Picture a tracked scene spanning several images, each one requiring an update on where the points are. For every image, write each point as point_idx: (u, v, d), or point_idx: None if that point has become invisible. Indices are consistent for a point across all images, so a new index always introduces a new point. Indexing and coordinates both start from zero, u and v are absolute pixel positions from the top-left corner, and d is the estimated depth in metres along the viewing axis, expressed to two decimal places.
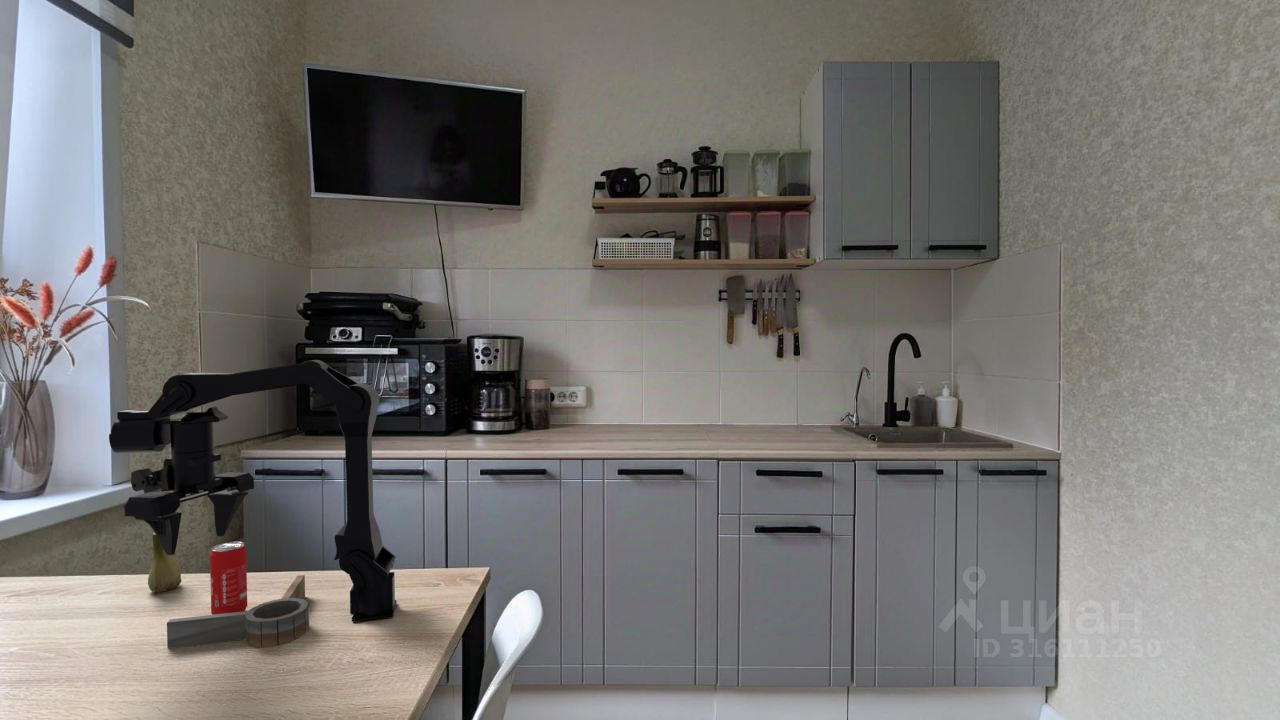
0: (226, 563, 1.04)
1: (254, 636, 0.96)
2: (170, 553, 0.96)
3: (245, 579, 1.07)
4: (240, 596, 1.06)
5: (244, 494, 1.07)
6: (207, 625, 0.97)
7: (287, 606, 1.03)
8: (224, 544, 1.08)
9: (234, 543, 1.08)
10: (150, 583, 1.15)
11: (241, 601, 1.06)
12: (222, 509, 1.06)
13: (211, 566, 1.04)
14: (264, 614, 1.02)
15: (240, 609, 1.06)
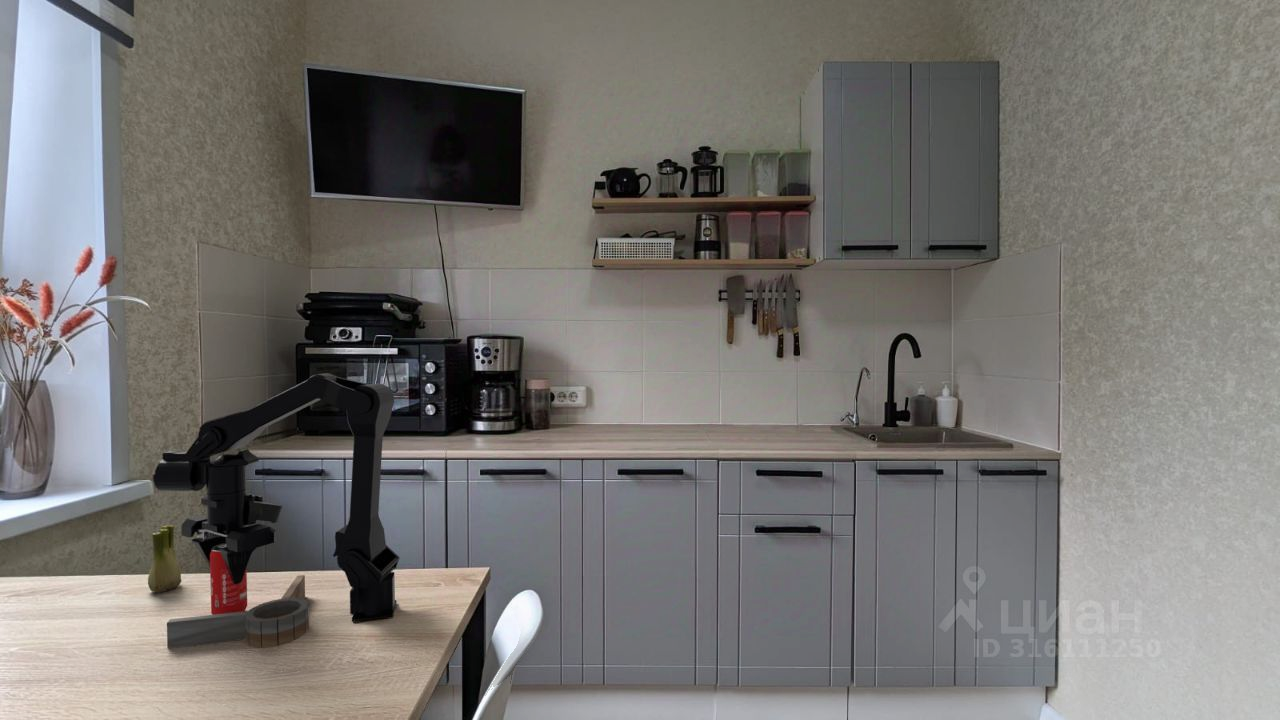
0: None
1: (254, 636, 0.96)
2: None
3: (245, 579, 1.07)
4: (240, 596, 1.06)
5: (225, 551, 1.02)
6: (207, 625, 0.97)
7: (287, 606, 1.03)
8: (224, 544, 1.08)
9: None
10: (150, 583, 1.15)
11: (241, 601, 1.06)
12: None
13: (211, 566, 1.04)
14: (264, 614, 1.02)
15: (240, 609, 1.06)
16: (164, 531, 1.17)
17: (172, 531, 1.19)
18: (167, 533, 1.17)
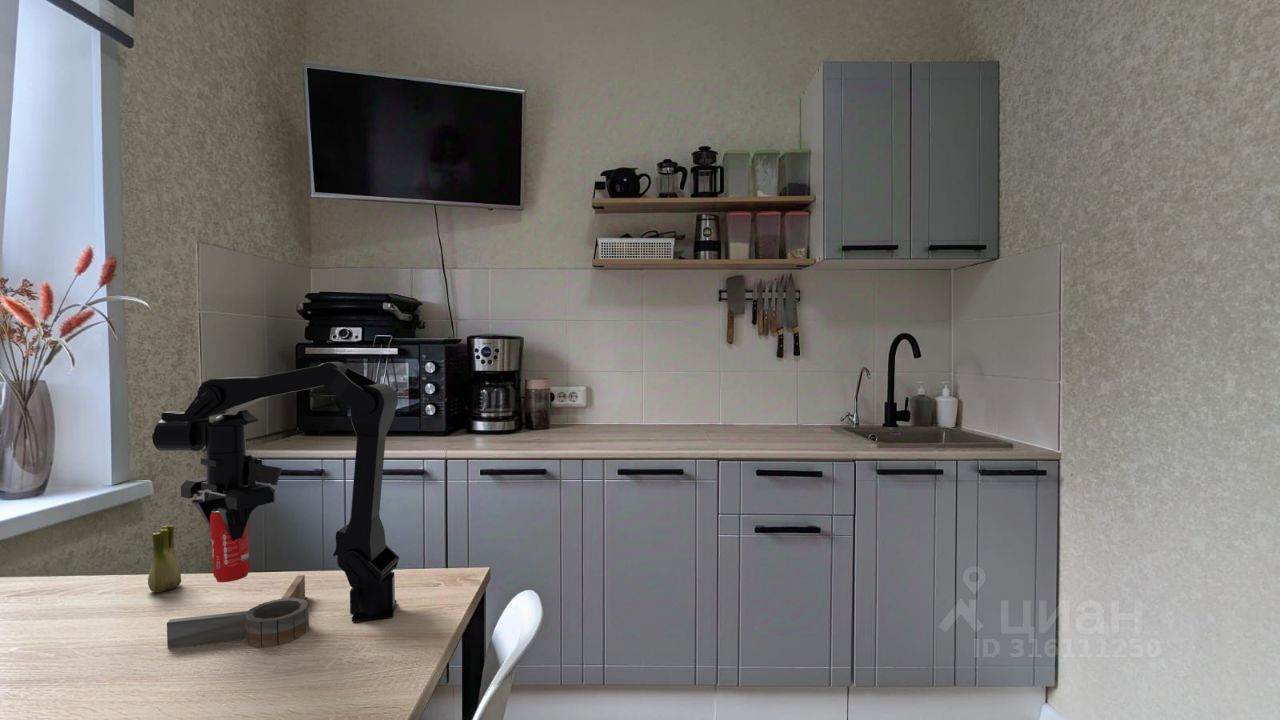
0: None
1: (254, 636, 0.96)
2: None
3: (246, 541, 1.07)
4: (242, 557, 1.05)
5: (224, 509, 1.01)
6: (207, 625, 0.97)
7: (287, 606, 1.03)
8: None
9: None
10: (150, 583, 1.15)
11: (242, 562, 1.05)
12: None
13: (211, 527, 1.04)
14: (264, 614, 1.02)
15: (242, 570, 1.05)
16: (164, 531, 1.17)
17: (172, 531, 1.19)
18: (167, 533, 1.17)
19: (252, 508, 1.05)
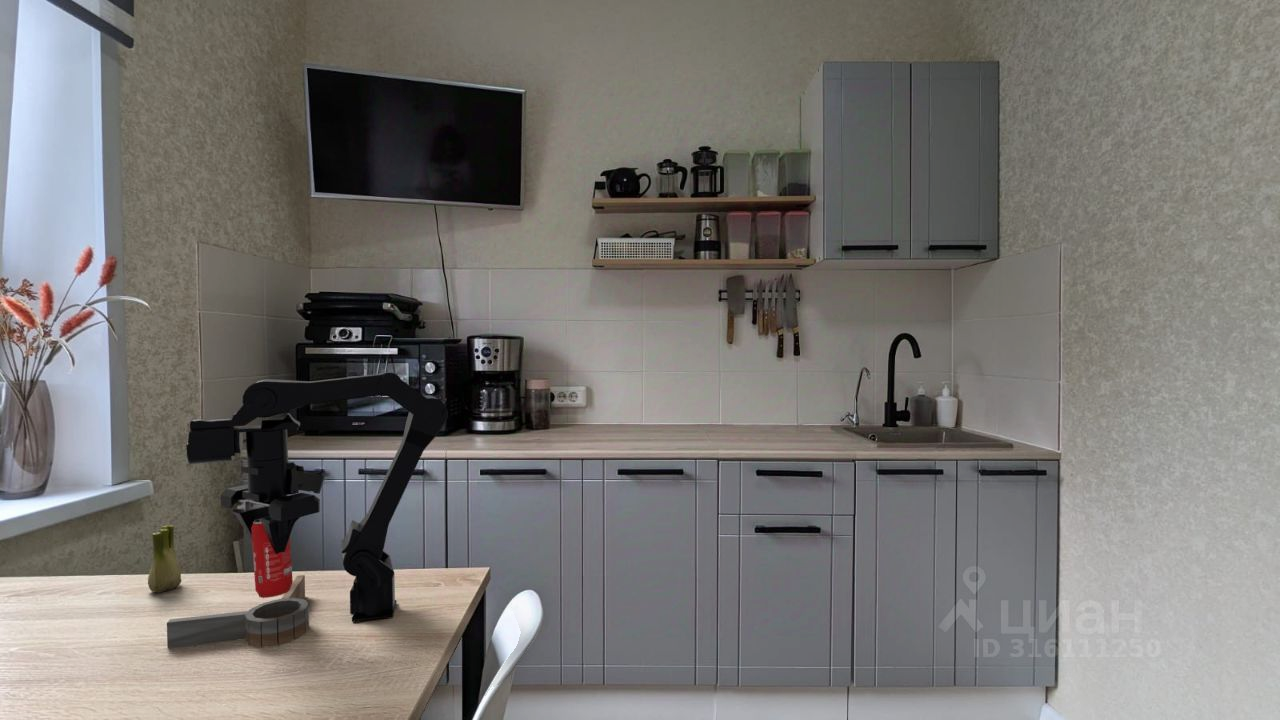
0: None
1: (254, 636, 0.96)
2: None
3: (289, 553, 1.01)
4: (285, 571, 0.99)
5: (267, 521, 0.95)
6: (207, 625, 0.97)
7: (287, 606, 1.03)
8: None
9: None
10: (150, 583, 1.15)
11: (285, 576, 0.99)
12: None
13: (253, 539, 0.98)
14: (264, 614, 1.02)
15: (285, 585, 0.99)
16: (164, 531, 1.17)
17: (172, 531, 1.19)
18: (167, 533, 1.17)
19: (296, 518, 0.99)
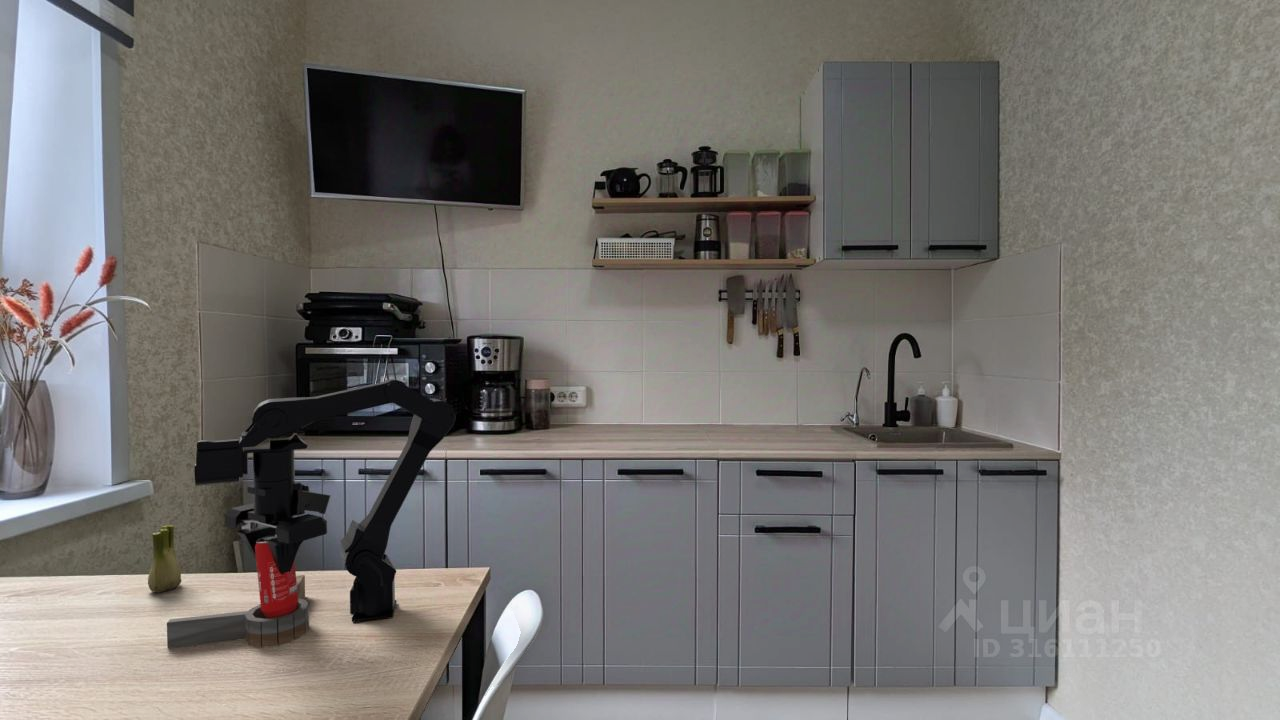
0: None
1: (254, 636, 0.96)
2: None
3: (294, 572, 1.00)
4: (290, 589, 0.99)
5: (273, 543, 0.95)
6: (207, 625, 0.97)
7: None
8: (269, 536, 1.00)
9: None
10: (150, 583, 1.15)
11: (291, 595, 0.99)
12: None
13: (257, 559, 0.97)
14: None
15: (291, 604, 0.99)
16: (164, 531, 1.17)
17: (172, 531, 1.19)
18: (167, 533, 1.17)
19: None
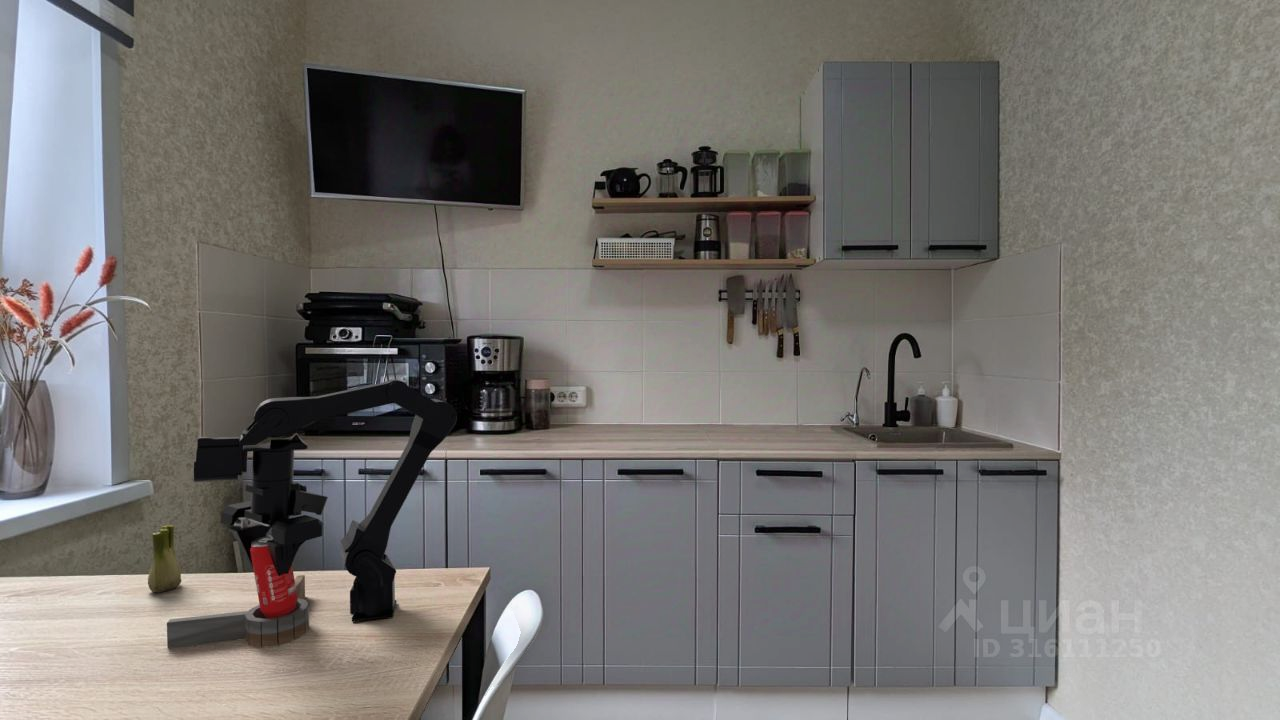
0: (269, 558, 0.96)
1: (254, 636, 0.96)
2: None
3: (291, 572, 0.99)
4: (289, 590, 0.98)
5: (273, 544, 0.94)
6: (207, 625, 0.97)
7: None
8: (264, 537, 0.99)
9: None
10: (150, 583, 1.15)
11: (290, 595, 0.98)
12: None
13: (253, 562, 0.96)
14: None
15: (291, 604, 0.98)
16: (164, 531, 1.17)
17: (172, 531, 1.19)
18: (167, 533, 1.17)
19: (301, 542, 0.98)
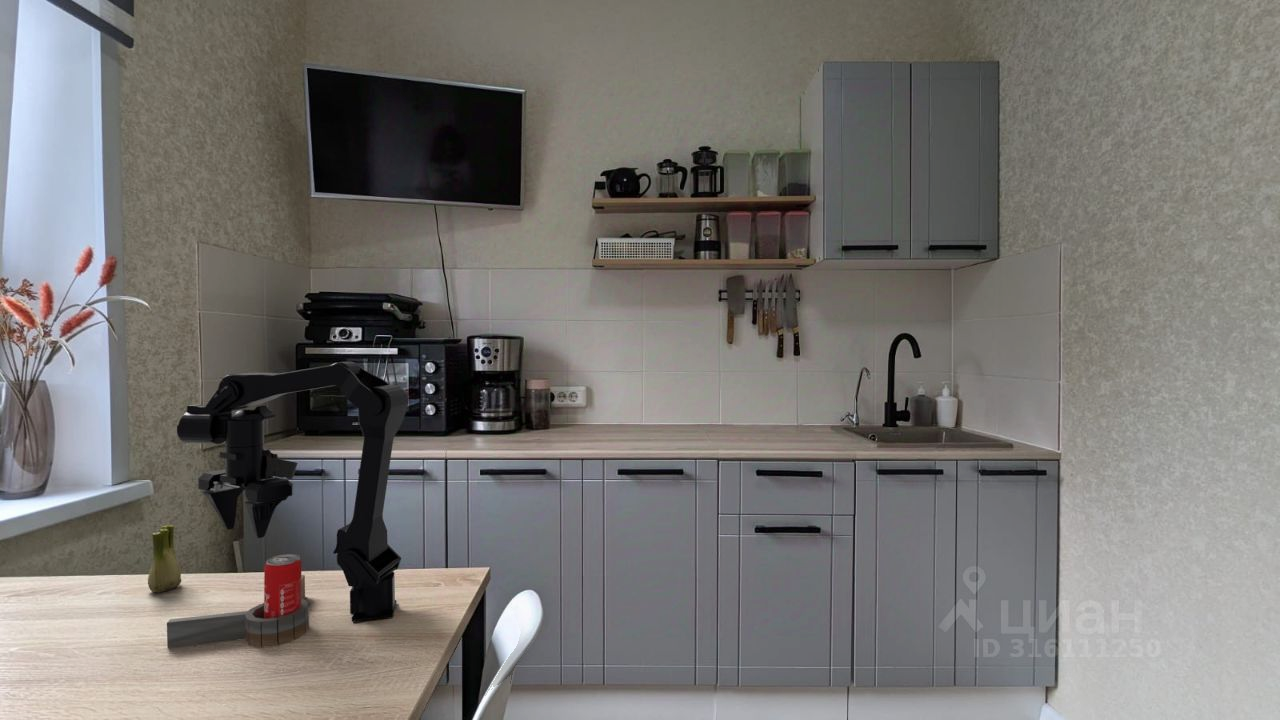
0: (285, 578, 0.98)
1: (254, 636, 0.96)
2: None
3: (300, 594, 1.01)
4: None
5: (250, 504, 1.03)
6: (207, 625, 0.97)
7: None
8: (277, 557, 1.01)
9: (287, 556, 1.01)
10: (150, 583, 1.15)
11: None
12: None
13: (267, 581, 0.98)
14: None
15: None
16: (164, 531, 1.17)
17: (172, 531, 1.19)
18: (167, 533, 1.17)
19: (277, 503, 1.07)
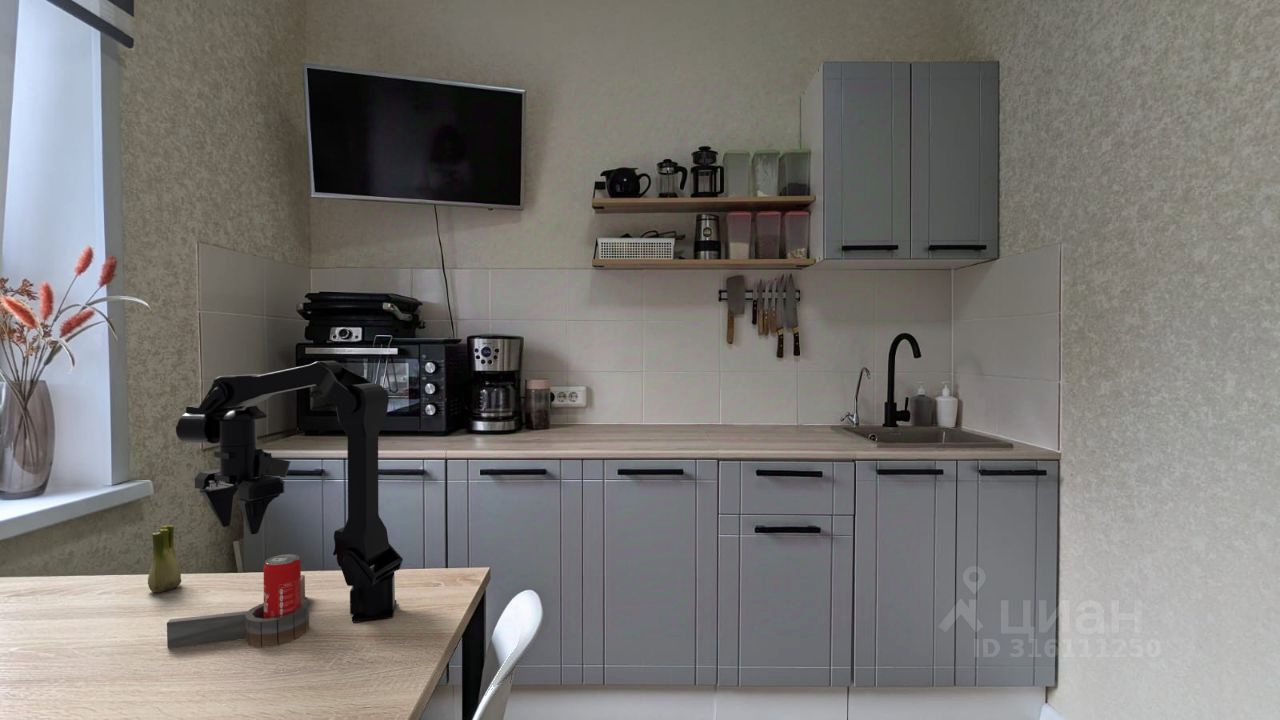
0: (284, 577, 0.98)
1: (254, 636, 0.96)
2: None
3: (300, 593, 1.01)
4: None
5: (243, 501, 1.06)
6: (207, 625, 0.97)
7: None
8: (276, 557, 1.01)
9: (287, 556, 1.02)
10: (150, 583, 1.15)
11: None
12: None
13: (266, 581, 0.98)
14: None
15: None
16: (164, 531, 1.17)
17: (172, 531, 1.19)
18: (167, 533, 1.17)
19: (269, 500, 1.10)
